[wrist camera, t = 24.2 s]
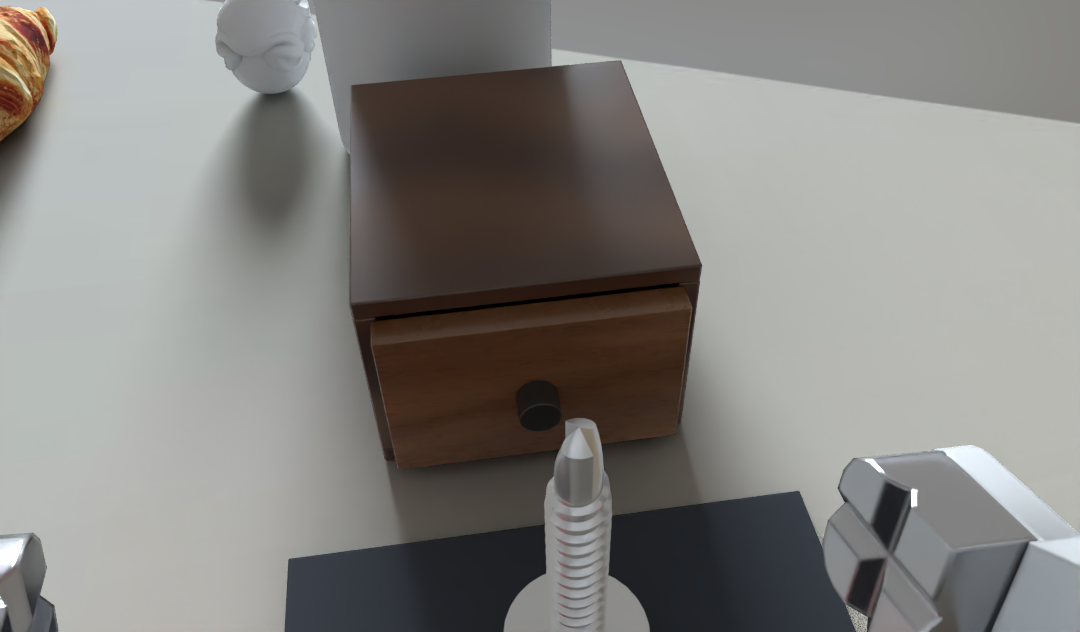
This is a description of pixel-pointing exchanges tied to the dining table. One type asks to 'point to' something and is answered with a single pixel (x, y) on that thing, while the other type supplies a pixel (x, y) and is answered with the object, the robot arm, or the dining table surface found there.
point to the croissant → (23, 62)
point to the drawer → (531, 373)
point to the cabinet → (506, 197)
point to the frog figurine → (266, 42)
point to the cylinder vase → (427, 41)
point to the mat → (635, 560)
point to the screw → (577, 550)
